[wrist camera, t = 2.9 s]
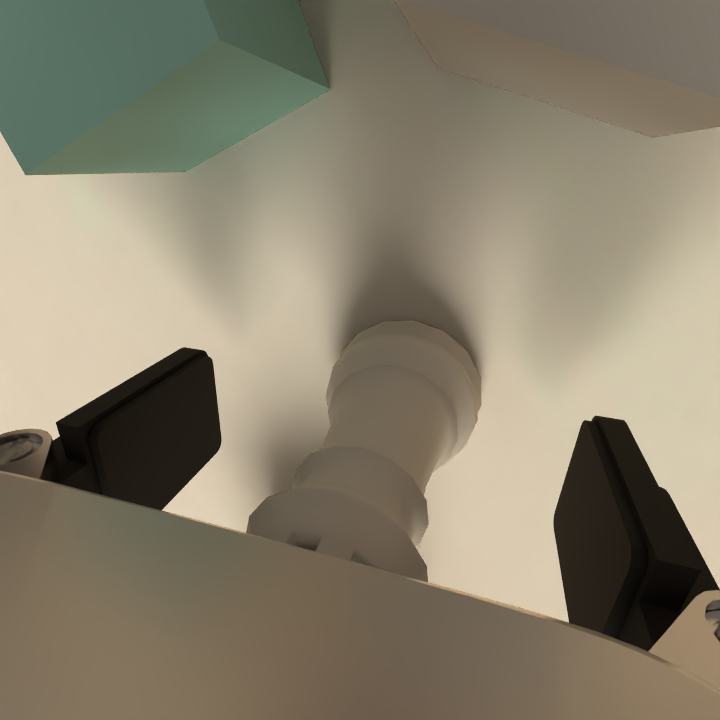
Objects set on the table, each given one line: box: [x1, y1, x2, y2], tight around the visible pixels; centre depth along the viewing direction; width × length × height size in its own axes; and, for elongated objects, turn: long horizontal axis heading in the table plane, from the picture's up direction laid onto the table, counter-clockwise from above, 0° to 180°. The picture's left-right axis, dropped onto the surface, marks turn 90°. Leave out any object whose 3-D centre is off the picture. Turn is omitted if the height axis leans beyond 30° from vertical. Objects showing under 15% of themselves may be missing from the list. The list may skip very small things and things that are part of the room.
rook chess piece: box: [246, 320, 481, 582], centre depth 10 cm, size 4×4×8 cm
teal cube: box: [0, 0, 330, 175], centre depth 9 cm, size 5×5×5 cm
